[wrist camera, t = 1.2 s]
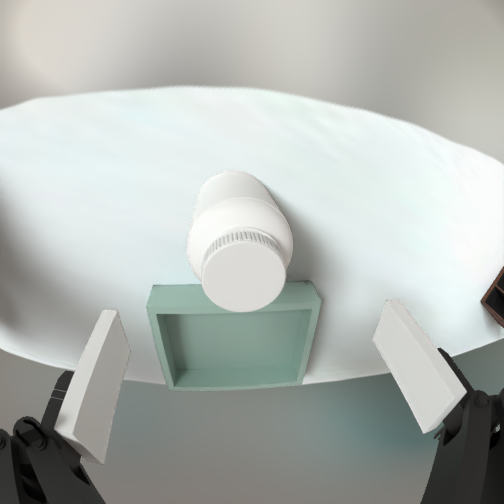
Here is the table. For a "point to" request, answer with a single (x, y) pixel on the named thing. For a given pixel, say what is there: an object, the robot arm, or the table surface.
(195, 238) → the pill bottle
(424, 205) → the table surface
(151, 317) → the box
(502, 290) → the letter holder
